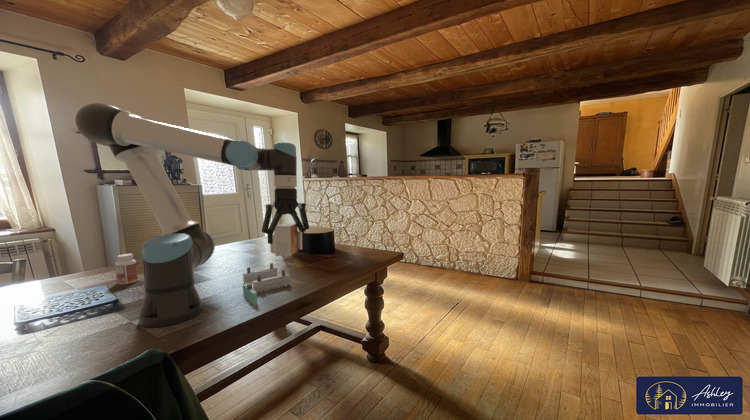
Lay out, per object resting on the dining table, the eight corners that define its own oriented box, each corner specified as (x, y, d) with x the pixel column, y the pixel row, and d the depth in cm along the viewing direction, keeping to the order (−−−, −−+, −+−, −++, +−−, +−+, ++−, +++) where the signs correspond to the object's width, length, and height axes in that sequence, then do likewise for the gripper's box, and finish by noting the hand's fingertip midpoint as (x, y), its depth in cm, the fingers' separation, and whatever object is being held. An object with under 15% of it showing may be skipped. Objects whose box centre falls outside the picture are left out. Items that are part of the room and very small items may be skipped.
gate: (252, 305, 89) (252, 289, 89) (242, 295, 98) (242, 281, 97) (257, 304, 90) (257, 288, 90) (247, 294, 99) (247, 280, 98)
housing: (255, 293, 99) (254, 277, 99) (242, 282, 111) (242, 267, 110) (290, 285, 108) (289, 270, 107) (275, 276, 119) (275, 262, 119)
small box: (291, 256, 96) (290, 226, 96) (274, 256, 97) (274, 226, 96) (298, 251, 104) (297, 223, 104) (283, 251, 105) (282, 223, 104)
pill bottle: (137, 278, 116) (135, 252, 115) (137, 282, 111) (135, 255, 110) (117, 281, 112) (115, 254, 111) (116, 286, 107) (114, 257, 106)
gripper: (257, 187, 89) (258, 257, 91) (318, 188, 103) (319, 248, 105) (249, 187, 94) (251, 253, 96) (309, 188, 109) (309, 245, 110)
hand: (286, 250), depth 100 cm, fingers closed on small box, 9 cm apart
